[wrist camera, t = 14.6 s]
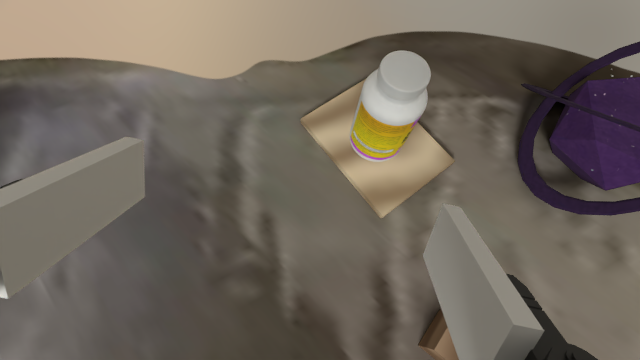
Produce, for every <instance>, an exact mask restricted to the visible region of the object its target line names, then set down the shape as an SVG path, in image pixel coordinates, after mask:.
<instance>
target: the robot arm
mask: <svg viewBox="0 0 640 360" xmlns="http://www.w3.org/2000/svg"><path fill="white" fill-rule="evenodd" d="M144 197H145V176H144V140H140V139H136V138H131V137H124V138H122V139H119V140H117V141H115V142H112V143H110V144H107V145H105V146H103V147H100V148H98V149H95V150H93V151H90V152H88V153H86V154H83V155H81V156H78V157H76V158H74V159H71V160H69V161H66V162H64V163H62V164H59V165H57V166H54V167H52V168H50V169H47V170H45V171H42V172H40V173H38V174H35V175H33V176H30V177H28V178H25V179H20V180H16V181H14V182H11V183H9V184H7V185H4V186H2V187H1V188H0V297H1V298H6V299H9V298H10V297H12V296H13V295H14V294H16V293H17V292H18V291H20V290H21V289H22V288H24V287H25V286H26V285H28V284H29V283H30V282H32V281H33V280H34V279H36V278H37V277H38V276H40V275H41V274H42V273H44V272H45V271H46V270H48V269H49V268H50V267H52V266H53V265H54V264H56V263H57V262H58V261H60V260H61V259H62V258H64V257H65V256H66V255H68V254H69V253H70V252H72V251H73V250H74V249H76V248H77V247H78V246H80V245H81V244H82V243H84V242H85V241H86V240H88V239H89V238H90V237H92V236H93V235H94V234H96V233H97V232H98V231H100V230H101V229H102V228H104V227H105V226H106V225H108V224H109V223H111V222H112V221H113V220H115V219H116V218H117V217H119V216H120V215H121V214H123V213H124V212H125V211H127V210H128V209H129V208H131V207H132V206H133V205H135V204H136V203H137V202H139V201H140V200H141V199H143V198H144ZM423 257H424V260H425V263H426V266H427V269H428V272H429V275H430V277H431V280H432V283H433V286H434V289H435V292H436V295H437V298H438V301H439V304H440V306H441V309H442V312H443V315H444V318H445V321H446V324H447V327H448V330H449V332H450V335H451V338H452V341H453V344H454V347H455V350H456V353H457V356H458V358H459V360H598V359H596V358H595V357H594V356H592V355H591V354H589V353H588V352H587V351H585V350H583V349H581V348H579V347H577V346H575V345H572V344H568V343H567V342H566V341H565V339H564V338H563V337H562V335H561V334H560V332H559V331H558V330H557V328H556V327H555V326H554V324H553V323H552V321H551V320H550V319H549V317H548V316H547V315H546V313H545V312H544V311H542V308H541V306H540V305H539V304H538V302H537V301H535V298H534V297H533V295H532V294H531V293H530V291H529V290H528V288H527V287H526V286H525V285H524V284H522V283H521V282H520V281H519V280H518V279H517V278H515V277H514V276H513V275H509V274H505V272H504V271H503V269H502V268H501V266H500V265H499V263H498V262H497V260H496V259H495V257H494V256H493V254H492V253H491V251H490V250H489V248H488V247H487V246H486V244H485V243H484V241H483V240H482V238H481V237H480V235H479V234H478V232H477V231H476V229H475V228H474V226H473V225H472V223H471V222H470V220H469V219H468V217H467V216H466V215H465V213H464V212H463V210H462V209H461V207H459V206H454V205H449V204H444V203H443V204H442V207H441V209H440V212H439V214H438V217H437V220H436V222H435V225H434V228H433V230H432V233H431V235H430V238H429V241H428V243H427V246H426V249H425V251H424V254H423Z"/></svg>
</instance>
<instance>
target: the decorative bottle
mask: <svg viewBox="0 0 640 360" xmlns="http://www.w3.org/2000/svg"><path fill="white" fill-rule="evenodd" d="M639 52H640V42H637V43H634V44H631V45H628V46H625V47H622V48H619V49H617V50H615V51H613V52H611V53H609V54H607V55H605V56H603V57H601V58H599V59H597V60H595V61H593V62H591V63H589V64H587V65H586V66H585V67H583V68H582V69H580V70H579V71H577V72H576V73H574V74H573V75H571V76H570V77H569V78H567V79H566V80H564V81H563V82H562V83H561V84H560V85H559V86H558V87H557V88H556V89H555V90H554V91H550V90H547V89H543V88H540V87H537V86H533V85H530V84H521V85H522V86H523V87H525V88H527V89H529V90H531V91H533V92H536V93H538V94H540V95H543V96H545V97H546V98H545V99H544V100H543V101H542V103H541V104H540V106H539V107H538V108H537V110H536V111H535V113H534V114H533V115H532V117H531V118H530V119H529V121H528V123H527V126H526V128H525V130H524V133H523V135H522V137H521V140H520V144H519V154H518V165H519V168H520V172H521V176H522V180H523V181H524V182H525V184H526V185H527V186H528V187H529V189H530V190H531V191H532V193H533V194H534V195H535V196H536V197H538V198H540V199H541V200H543V201H545V202H546V203H548V204H549V205H551V206H553V207H555V208H558V209H562V210H566V211H570V212H573V213H577V214H586V215H617V214H624V213H630V212H636V211H640V197H639V198H633V199H627V200H622V201H616V202H603V201H584V200H580V199H576V198H572V197H568V196H565V195H563V194H561V193H559V192H558V191H556V190H554V189H553V188H551V187H549V186H548V185H547V184H546V183H545V182H544V180H543V179H542V178H541V177H540V175H539V174H538V173H537V171H536V167H535V164H534V160H533V157H532V156H533V146H534V138H535V136H536V134H537V131H538V129H539V126H540V124H541V122H542V120H543V119H544V117H545V116H546V115H547V113H548V112H549V110H550V109H551V108H552V106H553V105H554V104H555V103H556V102H557V101H558V102H560V103H563V104H566V105H565V107H564V109H563V111H562V113H561V116H560V118H559V120H558V122H557V124H556V126H555V128H554V131H553V133H552V135H551V137H550V139H549V140H550V144H551V148H552V153H553V154H555V155H556V156H557V157H558V158H559V159H560V160H561V161H562V162H563V163H564V164H565V165H567V166H568V167H569V168H570V169H571V170H572V171H573V172H574V173H575V174H576V175H577V176H578V177H580V178H581V179H583V180H585V181H587V182H589V183H591V184H593V185H595V186H597V187H599V188H601V189H604V190H610V189H614V188H618V187H622V186H626V185H630V184H635V183H639V182H640V77H636V78H621V79H606V80H591V81H587V82H585V83H584V84H583V85H582V86H580V87H579V88H578V89H577V90H575V91H574V92H573V93H571V94H570V96H569V97H568V96H565V95H564V94H565V93H566V92H567V91H568V90H569V89H570V88H571V87H572V86H574V85H575V84H577V83H578V82H580V81H581V80H583V79H584V78H586V77H587V76H589V75H590V74H591V73H593V72H594V71H596V70H598V69H600V68H602V67H604V66H607V65H609V64H611V63H613V62H615V61H617V60H619V59H621V58H624V57H627V56H631V55H634V54H637V53H639ZM611 70H612V69H611ZM612 76H613V75H612ZM631 77H632V76H631ZM563 98H564V99H563ZM566 99H567V100H566Z"/></svg>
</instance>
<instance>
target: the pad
mask: <svg viewBox="0 0 640 360" xmlns="http://www.w3.org/2000/svg"><path fill="white" fill-rule="evenodd" d="M366 79H367V78H366ZM366 79H365V80H366ZM365 80H363V81H361V82H360V83H358V84H357V85H355V86H353V87H352V88H350V89H348V90H347V91H345V92H343V93H342V94H340V95H339V96H337V97H335V98H334V99H332V100H330V101H329V102H327V103H326V104H324V105H322V106H321V107H319V108H317V109H316V110H314V111H312V112H311V113H309V114H308V115H306V116H304V117H303V118H301V123H302V125H303V126H304V127H305V128H306V129H307V131H308V132H309V133H310V134H311V135H312V137H313V138H314V139H315V140H316V141H317V143H318V144H319V145H320V146H321V147H322V149H323V150H324V151H325V152H326V153H327V155H328V156H329V157H330V158H331V159H332V161H333V162H334V163H335V164H336V165H337V167H338V168H339V169H340V170H341V171H342V173H343V174H344V175H345V176H346V177H347V179H348V180H349V181H350V182H351V183H352V185H353V186H354V187H355V188H356V189H357V191H358V192H359V193H360V194H361V195H362V197H363V198H364V199H365V200H366V201H367V203H368V204H369V205H370V206H371V207H372V209H373V210H374V211H375V212H376V213H377V215H378V216H379V217H380V218H381V219H382V218H383V217H384V216H386V215H387V214H388V213H390V212H391V211H392V210H393V209H395V208H396V207H397V206H399V205H400V204H401V203H403V202H404V201H405V200H406V199H408V198H409V197H410V196H412V195H413V194H414V193H415V192H417V191H418V190H419V189H421V188H422V187H423V186H424V185H426V184H427V183H428V182H430V181H431V180H432V179H433V178H435V177H436V176H437V175H439V174H440V173H441V172H443V171H444V170H445V169H446V168H448V167H449V166H450V165H452V164H453V163H454V162H455V161H454V160H453V158H452V157H451V156H450V155H449V154H448V153H447V152H446V151H445V150H444V149H443V148H442V147H441V146H440V145H439V144H438V143H437V142H436V141H435V140H434V139H433V138H432V137H431V136H430V135H429V134H428V133H427V132H426V131H425V130H424V128H423V127H422V126H421V125H420V124H419V123H418V122H417V123H416V125H415V126H414V128H413V130H412V131H411V133H410V135H409V136H408V138H407V140H406V141H405V143H404V145H403V146H402V148H401V149H400V151H399V152H398V153H397V155H396V156H394V157H393V158H391V159H389V160H387V161H383V162H373V161H368V160H366V159H364V158H362V157H361V156H359V155H358V154H357V153H356V152H355V151H354V149H353V147H352V146H351V143H350V137H349V136H350V129H351V126H352V122H353V119H354V116H355V112H356V108H357V105H358V102H359V98H360V94H361V91H362V87H363V84H364V82H365Z"/></svg>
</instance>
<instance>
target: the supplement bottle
mask: <svg viewBox="0 0 640 360" xmlns="http://www.w3.org/2000/svg"><path fill="white" fill-rule="evenodd" d="M430 78H431V71H430V68H429V66H428V64H427V62H426V61H425V60H424V59H423V58H422V57H421V56H419V55H417V54H415V53H413V52H410V51H403V50H399V51H394V52H391V53H389V54H388V55H386V56H385V57H384V58H383V60H382V61H381V64H380V66H379V69H377V70H375V71H374V72H372V73H371V74H370V75H369V76H368V77H367V79H366V80H365V82H364V84H363V87H362V91H361V94H360V98H359V102H358V105H357V108H356V112H355V116H354V119H353V122H352V126H351V129H350V136H349V137H350V143H351V146H352V147H353V149H354V151H355V152H356V153H357V154H358V155H359V156H361V157H362V158H364V159H366V160H368V161H373V162H383V161H387V160H389V159H391V158H393V157H394V156H396V155H397V153H398V152H399V151H400V149H401V148H402V146H403V145H404V143H405V141H406V140H407V138H408V136H409V135H410V133H411V131H412V130H413V128H414V126H415V125H416V123H417V122H418V120H419V118H420V117H421V115H422V114H423V112H424V110H425V108H426V105H427V101H428V94H427V89H426V87H427V85H428V83H429V81H430Z"/></svg>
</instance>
